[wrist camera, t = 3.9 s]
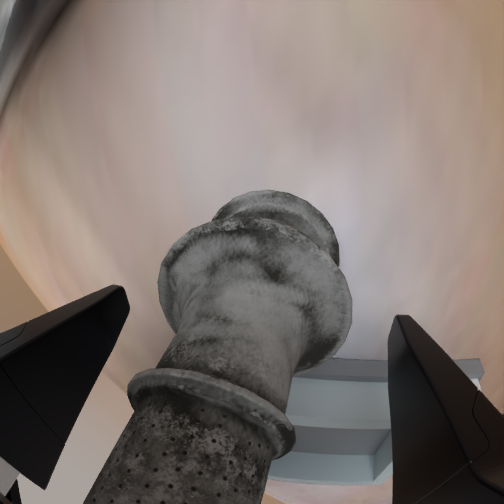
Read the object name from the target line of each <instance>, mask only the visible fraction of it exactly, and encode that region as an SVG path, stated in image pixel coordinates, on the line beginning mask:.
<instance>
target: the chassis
mask: <svg viewBox="0 0 504 504" xmlns="http://www.w3.org/2000/svg"><path fill="white" fill-rule="evenodd" d="M453 361H454V362H455V363H456V364H457V365H458V366H459V367H460V369H461V370H462V371H463V372H464V373H465V374H466V375H467V376H468V377H469V378H470V380H471V381H472V382H473V383H474V384H475V385H476V386H477V387H478V390H480V391H481V387H480V384H479V381H480V379H481V378H482V376H483V375H484V373H485V372H484V369H483V367H482V364H481V362H480V359H469V360H453ZM285 415H286V416H287V418H288V419H289V421H290V422H291V424H292V425H293V426H294V428H295V433H296V443H295V445H294V446H293V448H292V450H291V451H290V452H289V453H287V454H286V455H284V456H283V457H281V458H279V459H276V460H273V461H271V465H270V469H269V473H268V478H267V479H270V480H277V481H285V482H294V483H305V484H320V485H382V484H383V483H384V482H385V481H386V480H387V479H388V478H389V477H390V476H391V475H392V474H393V463H392V437H391V421H390V408H389V397H388V361H375V360H352V359H335V358H330V359H329V360H327V361H326V362H324V363H323V364H321V365H320V366H318V367H317V368H315V369H314V370H311V371H308V372H306V373H303V374H300V375H297V376H294V377H292V382H291V388H290V393H289V399H288V404H287V409H286V414H285Z"/></svg>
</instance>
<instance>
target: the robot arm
mask: <svg viewBox="0 0 504 504" xmlns="http://www.w3.org/2000/svg"><path fill="white" fill-rule="evenodd" d="M129 311H130V305H129V302H128V299H127V295H126V292H125V289H124V288H123V287H122V286H119V285H110V286H108V287H106V288H103V289H101V290H99V291H96V292H94V293H92V294H89V295H87V296H85V297H82V298H80V299H78V300H75V301H73V302H71V303H68V304H66V305H64V306H62V307H59V308H57V309H55V310H53V311H50V312H48V313H46V314H44V315H41V316H39V317H37V318H35V319H32V320H30V321H29V322H26V323H23V324H21V325H19V326H17V327H14V328H12V329H10V330H7V331H5V332H2V333H0V504H22V503H21V498H20V493H19V488H18V481H17V477H18V475H19V474H20V473H21V474H23V475H24V476H25V477H26V478H28V479H29V480H31V481H32V482H33V483H35V484H36V485H38V486H39V487H41V488H42V489H43V490H45V489H46V487H47V485H48V483H49V481H50V478H51V476H52V473H53V471H54V469H55V466H56V464H57V462H58V459H59V457H60V455H61V452H62V450H63V448H64V446H65V443H66V441H67V439H68V437H69V434H70V432H71V430H72V428H73V426H74V424H75V422H76V420H77V418H78V416H79V413H80V412H81V410H82V407H83V406H84V403H85V401H86V399H87V397H88V395H89V394H90V392H91V390H92V388H93V386H94V384H95V382H96V380H97V378H98V376H99V374H100V372H101V371H102V369H103V367H104V365H105V363H106V361H107V359H108V358H109V356H110V354H111V352H112V350H113V348H114V346H115V344H116V342H117V339H118V337H119V335H120V332H121V330H122V328H123V325H124V323H125V321H126V319H127V316H128V314H129ZM388 397H389V408H390V421H391V437H392V463H393V499H392V504H504V416H503V415H502V414H501V413H500V412H499V411H498V410H497V409H496V408H495V407H494V405H493V404H492V403H491V402H490V401H489V400H488V399H487V398H486V397H485V395H484V394H483V393H482V392H481V391H480V390H478V387H477V386H476V385H475V384H474V383H473V382H472V381H471V380H470V378H469V377H468V376H467V375H466V374H465V373H464V372H463V371H462V370H461V369H460V367H459V366H458V365H457V364H456V363H455V362H454V361H453V360H452V359H451V358H450V357H449V356H448V354H447V353H446V352H445V351H444V350H443V349H442V348H441V347H440V346H439V345H438V344H437V343H436V342H435V341H434V340H433V339H432V338H431V337H430V336H429V335H428V334H427V333H426V332H425V330H424V329H423V328H422V327H421V326H420V325H419V324H418V323H417V322H416V321H415V320H414V319H413V318H412V317H411V316H409V315H396V316H395V318H394V320H393V324H392V327H391V330H390V333H389V337H388Z"/></svg>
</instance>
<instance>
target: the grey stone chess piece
mask: <svg viewBox="0 0 504 504" xmlns="http://www.w3.org/2000/svg"><path fill="white" fill-rule="evenodd" d="M338 267H339V245H338V242H337V239H336V236H335V233H334V230H333V228H332V227H331V225H330V224H329V222H328V221H327V220H326V218H325V217H324V215H323V214H322V213H321V212H320V211H318V210H317V209H316V208H315V207H314V206H312V205H311V204H310V203H309V202H307V201H305V200H303V199H301V198H299V197H297V196H294V195H292V194H290V193H285V192H279V191H273V190H263V191H253V192H249V193H246V194H243V195H241V196H238V197H236V198H233V199H232V200H231V201H230V202H228V203H227V204H226V205H224V206H223V207H222V208H221V209H220V210H219V211H218V212H217V214H216V215H215V217H214V218H213V219H212V221H211V222H208V223H206V224H203V225H201V226H198V227H196V228H193V229H191V230H190V231H189V232H187V233H186V234H185V235H184V236H183V237H181V238H180V239H179V240H178V241H177V242H175V243H174V244H173V245H172V247H171V248H170V250H169V252H168V253H167V255H166V257H165V258H164V260H163V262H162V264H161V268H160V273H159V278H158V291H159V300H160V304H161V307H162V309H163V312H164V314H165V317H166V319H167V322H168V323H169V325H170V326H171V328H172V329H173V331H174V332H175V334H176V335H175V337H174V338H173V340H172V342H171V343H170V345H169V347H168V348H167V350H166V352H165V353H164V355H163V357H162V358H161V360H160V362H159V363H158V365H157V367H156V368H155V369H148V370H145V371H143V372H140V373H138V374H136V375H135V376H134V377H133V378H132V380H131V381H130V382H129V384H128V390H127V396H128V398H129V401H130V403H131V406H132V408H133V409H134V413H133V415H132V417H131V418H130V420H129V422H128V424H127V426H126V427H125V429H124V431H123V432H122V434H121V436H120V438H119V440H118V441H117V443H116V445H115V447H114V448H113V450H112V452H111V454H110V456H109V457H108V459H107V461H106V463H105V465H104V466H103V468H102V470H101V472H100V473H99V475H98V477H97V479H96V481H95V482H94V484H93V486H92V488H91V490H90V492H89V493H88V495H87V497H86V499H85V501H84V503H83V504H261V501H262V497H263V493H264V490H265V486H266V482H267V478H268V473H269V469H270V465H271V461H273V460H276V459H279V458H281V457H283V456H284V455H286V454H287V453H289V452H290V451H291V450H292V448H293V446H294V445H295V443H296V433H295V428H294V426H293V425H292V424H291V422H290V421H289V419H288V418H287V416H286V415H285V414H286V409H287V404H288V399H289V393H290V388H291V382H292V377H294V376H297V375H300V374H303V373H306V372H308V371H311V370H314V369H315V368H317V367H318V366H320V365H321V364H323V363H324V362H326V361H327V360H329V359H330V358H332V356H333V355H334V354H335V353H336V352H337V351H338V349H339V348H340V347H341V346H342V345H343V343H344V342H345V339H346V337H347V334H348V332H349V329H350V326H351V324H352V298H351V294H350V291H349V288H348V285H347V282H346V279H345V276H344V275H343V273H342V272H341V270H340V269H339V268H338Z"/></svg>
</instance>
